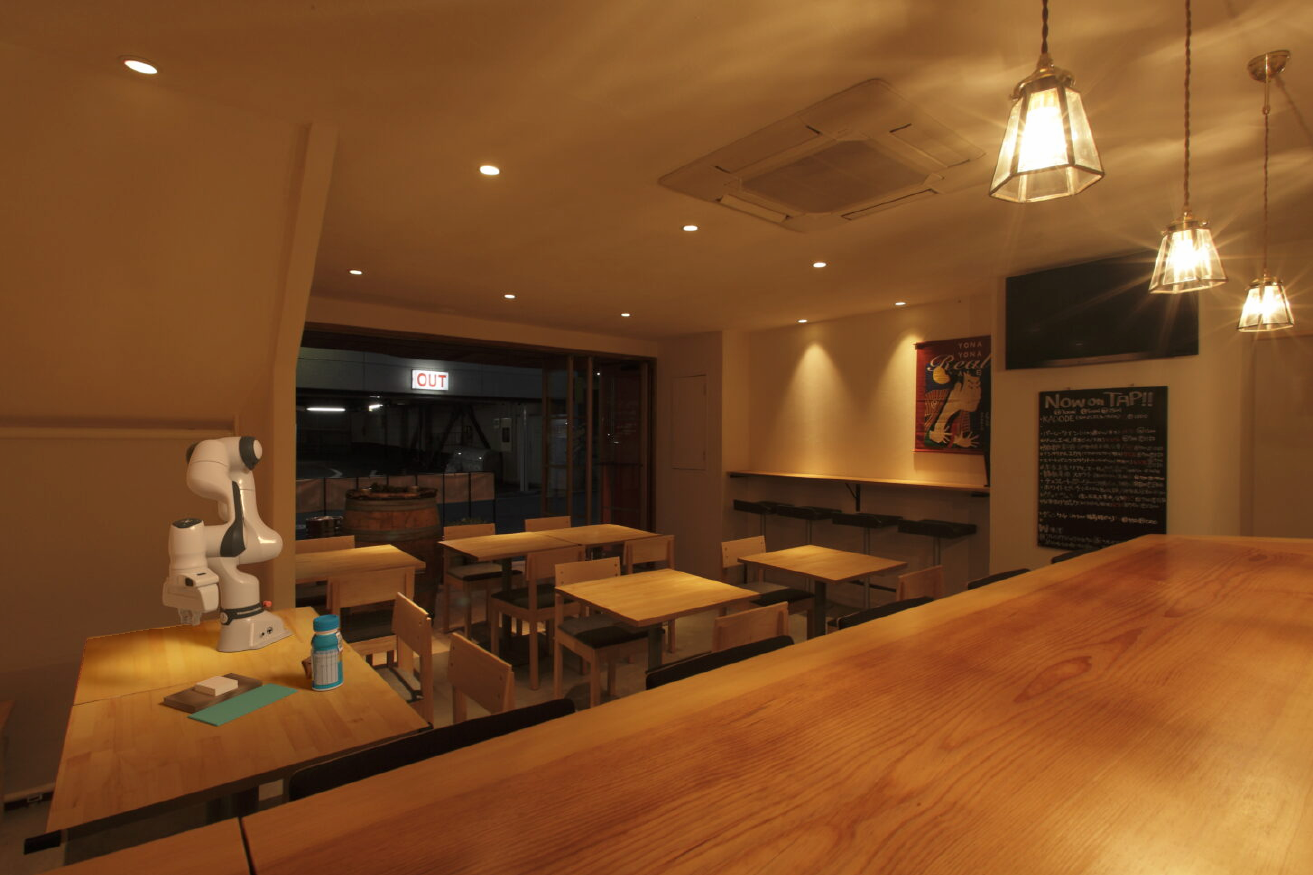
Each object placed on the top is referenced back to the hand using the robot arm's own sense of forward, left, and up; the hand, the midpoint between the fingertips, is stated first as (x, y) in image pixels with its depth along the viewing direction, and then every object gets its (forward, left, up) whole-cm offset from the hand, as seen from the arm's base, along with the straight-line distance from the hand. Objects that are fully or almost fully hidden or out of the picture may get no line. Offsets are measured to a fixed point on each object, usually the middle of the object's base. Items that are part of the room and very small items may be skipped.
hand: (190, 623), depth 180 cm
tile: (0, +11, -17) cm, 20 cm away
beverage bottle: (-17, +34, -19) cm, 43 cm away
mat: (0, +23, -19) cm, 30 cm away
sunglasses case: (-26, +19, -20) cm, 38 cm away
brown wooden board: (0, +10, -19) cm, 22 cm away
